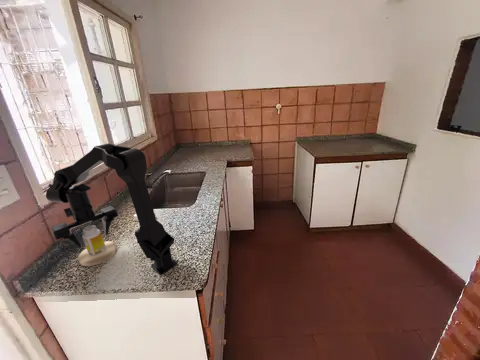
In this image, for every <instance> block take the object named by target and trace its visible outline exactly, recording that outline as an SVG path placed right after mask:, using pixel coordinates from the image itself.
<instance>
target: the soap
mask: <svg viewBox="0 0 480 360" xmlns="http://www.w3.org/2000/svg"><path fill="white" fill-rule="evenodd" d="M155 217H156V214H155ZM156 218H157V217H156ZM133 219H134V221H137V222H139V221H138V218H137V214H136V213H135V214H134V215H133Z"/></svg>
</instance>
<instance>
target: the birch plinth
mask: <svg viewBox="0 0 480 360" xmlns="http://www.w3.org/2000/svg"><path fill="white" fill-rule="evenodd" d="M104 243H105V246H106V249H105V250H104V251H103V252H102V253H100V254H98V255H94V256H92V255H89V253H88V251H87V248H86V247H85V249H83V250H82V251H81V252H80V253H79V255H78V256H77V259H78V262H79V264H80V265H81V266H82V267H94V266H97V265H101V264H103V263H104V262H106V261H108V260H110V259H111V258H112V257H113V256H114V255H115V254H116V252H117V251H118V249H117V244H116V243H115V242H114V241H111V240H110V241H106V240H105V241H104Z"/></svg>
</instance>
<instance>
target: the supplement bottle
mask: <svg viewBox="0 0 480 360" xmlns="http://www.w3.org/2000/svg"><path fill="white" fill-rule="evenodd" d="M81 238H82V240H83V243H84V246H85V249H86V248H87V251H88V253H89V255H92V256H94V255H98V254H100V253H102V252H103V251H104V250H105V249H106V246H105V243H104V242H105V241H104V237H103V235H102V232H101V230H100V229H98V228H97V226H96V224H90V225H87V226H85V227H84V228H82V235H81Z"/></svg>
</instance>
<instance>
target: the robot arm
mask: <svg viewBox="0 0 480 360" xmlns="http://www.w3.org/2000/svg"><path fill="white" fill-rule="evenodd" d="M102 163H103V164H104V165H105V166H106V167H108V168H111V169H113V170H115V172H116V175H117V176H118V177H119V178H120V179H121V180H122V181H123V182H125V184H126V186H127V189H128V192H129V196H130V197H131V202H132V205H133V208H134V211H135V214H137V218H138V221H137V222H138V223H139V228H138V229H137V230H136V231H134V236H135V239H136V244H138V246H139V247H140V250H141V251H142V252H143V254H144V256H145V257H146V258H147V259H149V260H150V261H152V262H153V263H152V264H151V265H150V266H151V268H152V269H153V270H154V271H155V272H156V273H157V274H159V276H161V275H163V274H165V273H166V272H168V271H169V270H171V269H173V268H174V267H176V266H177V265H178V262H177V261H176V260H175V259H173V257H172V251H171V247H172V246H173V245H174V243H175V238H174V237H173V236H172V235H171V234H170V233H168V232H167V230H166V229H165V227H164V224H162V223H161V222H160V221H158V220H157V217H155V215H156V213H155V211H154V207H153V204H152V199H151V197H150V192H149V189H148V186H147V182H146V173H147V171H148V170H147V169H148V167H147V166H148V165H147V157H146V154H145V153H144V152H143V151H141V150H140V149H138V148H132V147H128V146H121V145H115V144H112V143H107V142H105V143H103V144H98V145H95V146H93V147H92V149H91V150H89V151H88V153H86V154H84V155H83V156H82V157H81V158H79V159H78V160H77V161H75V162H74V163H73V164H71V165H69V166H66V167H64V168H60V169H57V170H56V171H54V175H53V179H52V182H50V183H48V187H49V188H48V189H47V190H46V193H45V198H46V199H47V201H49V202H53V203H62V204H67V203H68V205H69V207H67V208H64V209H63V212H64V214H65V217H66V218H70V217H72V218H73V219H72V220H74V222H71V223H69V224H67V223H66V222H65V221H63V222H61V223H58V224H55V225H53V226H52V227H51V228H50V229H51V232H52V235H53V236H54V238H55V240H56V241H57V240H61V239H63V240H66V239H68V240H70V241H71V242H73V243H74V244H75V245H76V246H77V247H79V248H80V249H81V248H82V244H81V243H80V242H79V240H78V238H77V237H76V235H75V233H74V232H73V231H72V230H75V229H77V228H79V227H82V226H85V225H87V224H90V223H92V222H95V221H97V220H101V222H102V227H103V231H104V235H105V236H106V237H108V235H109V232H110V231H109V230H110V227H111V223H112V221H114V220H115V218H116V217H118V216H119V214H118V213H119V212H118V211H117V210H118V209H116V208H115V207H114V206H111V205H108V206H106V207H103V208H101V209H100V212H98V213H97V214H96V213H95V210H94V208H93V205H92V202H91V199H90V196H89V193H88V191H90V190H91V187H90V186H89V185H86V184H85V183H82V182H84V181H85V180H86V179H87V178H88V177H89V175H90V174H89V173H90V172H91V171H92V170H93V169H96V168H97V167H99V165H101V164H102ZM79 183H81V184H79Z"/></svg>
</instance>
